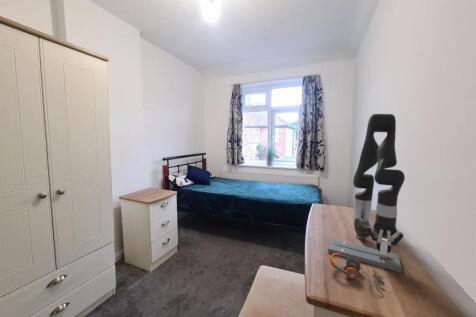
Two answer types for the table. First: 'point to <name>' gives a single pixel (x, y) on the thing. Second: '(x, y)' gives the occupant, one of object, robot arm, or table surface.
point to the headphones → (353, 269)
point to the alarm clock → (362, 227)
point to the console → (365, 254)
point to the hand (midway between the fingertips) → (383, 251)
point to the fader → (383, 248)
